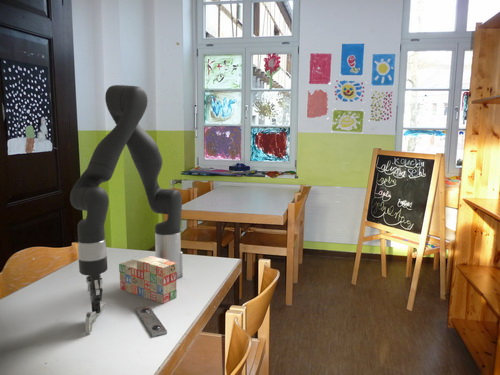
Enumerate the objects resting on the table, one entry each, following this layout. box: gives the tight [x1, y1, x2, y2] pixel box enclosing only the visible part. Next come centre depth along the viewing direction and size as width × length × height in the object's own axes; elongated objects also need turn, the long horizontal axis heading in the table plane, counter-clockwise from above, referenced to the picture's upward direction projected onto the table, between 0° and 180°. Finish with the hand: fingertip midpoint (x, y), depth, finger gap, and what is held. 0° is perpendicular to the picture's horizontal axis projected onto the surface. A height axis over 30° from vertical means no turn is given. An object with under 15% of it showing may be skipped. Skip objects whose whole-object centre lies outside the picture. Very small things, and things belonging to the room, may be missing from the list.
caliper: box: [85, 302, 106, 336], centre depth 119 cm, size 20×1×6 cm, turn 8°
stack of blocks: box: [118, 255, 178, 304], centre depth 137 cm, size 21×6×12 cm, turn 56°
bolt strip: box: [135, 305, 168, 338], centre depth 118 cm, size 4×18×1 cm, turn 29°
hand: (96, 312), depth 118 cm, fingers closed
